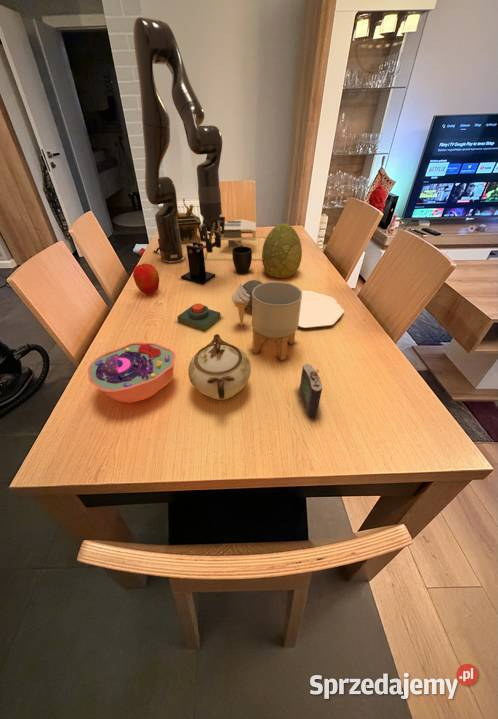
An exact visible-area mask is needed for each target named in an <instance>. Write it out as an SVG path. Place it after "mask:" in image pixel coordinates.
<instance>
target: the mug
mask: <svg viewBox="0 0 498 719" xmlns="http://www.w3.org/2000/svg"><path fill="white" fill-rule="evenodd" d="M232 257H233V259H232V263H233V267H234V269H235V273H236V274H239V275H247V274H248V273H249V272H250V268H251V265H252V261H253V259H252V249H251V248H250V247H245V246H243V245H240V246H239V247H235V248H233V249H232Z"/></svg>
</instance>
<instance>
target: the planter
mask: <svg viewBox="0 0 498 719" xmlns="http://www.w3.org/2000/svg"><path fill="white" fill-rule="evenodd" d="M301 291H302V290H301V288H299V287H298V286H296V285H294V284H292V283H289V282H284V281H266V282H262V284H259V285H258V286H256V287H255V288H254V289H253V291H252V309H251V326H252V352H253V353H254V354H257V353H259V351H260V347H261V346H262V344H263V342H265V341H266V340H267V339H275V342H276V344H277V348H278V355H279V356H278V358H279V360H280V361H285V360H287V350H288V343H289V345H293V344H295V339H296V338H295V337H296V332H297V331H298V330H299V327H298V324H299V316H300V308H301V300H302V292H301Z"/></svg>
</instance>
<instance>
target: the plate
mask: <svg viewBox="0 0 498 719" xmlns="http://www.w3.org/2000/svg"><path fill="white" fill-rule="evenodd" d="M301 292H302V300H301V308H300V316H299V324H298V328H301V329H313V328H323V327H331V326H333V325H335V324H336V322H337V321H339V319H340V318H341V317H342V316H343V315H344V313H345V310H344V309H343V308H342V306H341V305H340V304H339V303H338V302H337V300H336V299H335V298H334V297H333V296H329V295H326V294H322V293H319V292H315V291H312V290H301Z"/></svg>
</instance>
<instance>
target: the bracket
mask: <svg viewBox="0 0 498 719" xmlns="http://www.w3.org/2000/svg"><path fill="white" fill-rule="evenodd" d="M195 245H198V246H203V245H204V243H202V242H193V243H192V245H190V244H186V246H185V248H186V255H187V262H188V269H189V271H188V272H186V273H184V274H183V275H181V276H180V280H183V281H187V282H190V283H193V284H197V285H201V286H204V285H205V284H207V283H208V282H210V281H211V280H212V279H215V277H216V273H213V272H210V271H206V262H205V260H206V259H205V251H204V249H200V251H199V252H197V247H195Z"/></svg>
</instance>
